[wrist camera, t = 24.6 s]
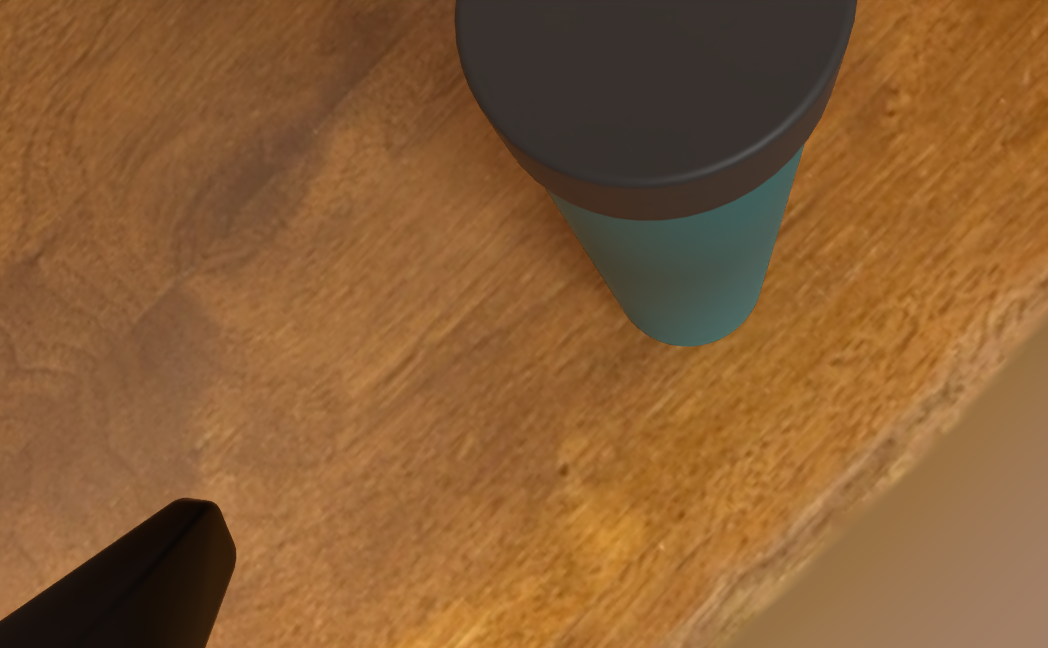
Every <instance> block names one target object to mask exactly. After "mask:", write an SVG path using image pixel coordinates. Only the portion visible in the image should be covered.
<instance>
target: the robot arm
mask: <svg viewBox="0 0 1048 648" xmlns="http://www.w3.org/2000/svg"><path fill="white" fill-rule="evenodd" d="M235 563H236V548H235V544H234V542H233V540H232V537H231V535H230V532H229V530H228V527H227V525H226V522H225V520H224V518H223V515H222V513H221V510H220V508H219V507H218V506H217V505H216V504H215V503H214V502H212V501H207V500H200V499H193V498H181V499H178V500H175V501H173V502H172V503H170V504H169V505H167V506H166V507H164V508H163V509H161V510H160V511H159V512H157V513H156V514H154V515H153V516H151V517H150V518H148V519H147V520H146V521H144V522H143V523H141V524H140V525H138V526H137V527H135V528H134V529H133V530H131V531H130V532H128V533H127V534H125V535H124V536H122V537H121V538H120V539H118V540H117V541H115V542H114V543H112V544H111V545H109V546H108V547H107V548H105V549H104V550H102V551H101V552H99V553H98V554H96V555H95V556H94V557H92V558H91V559H89V560H88V561H86V562H85V563H83V564H82V565H81V566H79V567H78V568H76V569H75V570H73V571H72V572H70V573H69V574H68V575H66V576H65V577H63V578H62V579H60V580H59V581H57V582H56V583H55V584H53V585H52V586H50V587H49V588H47V589H46V590H44V591H43V592H41V593H40V594H39V595H37V596H36V597H34V598H33V599H31V600H30V601H28V602H27V603H26V604H24V605H23V606H21V607H20V608H18V609H17V610H15V611H14V612H13V613H11V614H10V615H8V616H7V617H5V618H4V619H2V620H1V621H0V648H205V647H206V645H207V642H208V639H209V636H210V634H211V631H212V628H213V626H214V623H215V620H216V617H217V615H218V612H219V609H220V607H221V604H222V601H223V598H224V596H225V593H226V590H227V587H228V585H229V582H230V579H231V577H232V574H233V571H234V568H235Z"/></svg>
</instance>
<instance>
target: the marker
mask: <svg viewBox="0 0 1048 648" xmlns="http://www.w3.org/2000/svg"><path fill="white" fill-rule="evenodd" d="M856 5H857V0H456V6H455V31H456V43H457V48H458V53H459V57H460V62H461V66H462V69H463V72H464V75H465V77H466V80H467V83H468V85H469V88H470V90H471V92H472V94H473V95H474V97H475V99H476V101H477V103H478V105H479V106H480V108H481V110H482V111H483V113H484V114H485V116H486V117H487V119H488V120H489V122H490V123H491V125H492V126H493V128H494V129H495V131H496V132H497V133H498V135H499V136H500V138H501V139H502V141H503V142H504V144H505V145H506V147H507V148H508V149H509V151H510V152H511V153H512V155H513V156H514V158H515V159H516V160H517V162H518V163H519V164H520V165H521V166H522V167H523V168H524V169H525V170H526V171H527V172H528V173H529V174H530V175H531V176H532V177H533V178H534V179H535V180H536V181H537V182H538V183H540V184H541V185H542V186H544V187H545V189H546V190H547V192H548V193H549V195H550V196H551V198H552V199H553V201H554V203H555V204H556V206H557V207H558V209H559V210H560V212H561V214H562V215H563V217H564V218H565V220H566V221H567V223H568V224H569V226H570V228H571V229H572V231H573V232H574V234H575V235H576V237H577V239H578V240H579V242H580V243H581V245H582V246H583V248H584V249H585V251H586V253H587V254H588V256H589V257H590V259H591V260H592V262H593V264H594V265H595V267H596V268H597V270H598V271H599V273H600V274H601V276H602V278H603V279H604V281H605V282H606V284H607V285H608V287H609V289H610V290H611V292H612V293H613V295H614V296H615V298H616V299H617V301H618V303H619V304H620V306H621V307H622V309H623V310H624V312H625V314H626V315H627V316H628V318H629V319H630V320H631V321H632V322H633V323H634V324H635V325H636V327H637V328H639V329H640V330H641V331H643V332H644V333H645V334H647V335H648V336H650V337H652V338H654V339H656V340H658V341H661V342H663V343H667V344H671V345H677V346H699V345H704V344H708V343H712V342H714V341H717V340H719V339H721V338H723V337H725V336H727V335H729V334H730V333H731V332H733V331H734V330H736V329H737V328H738V327H739V326H740V325H741V324H742V323H743V322H744V321H745V320H746V318H747V317H748V316H749V315H750V313H751V312H752V310H753V308H754V307H755V305H756V302H757V300H758V298H759V295H760V291H761V288H762V285H763V281H764V278H765V275H766V271H767V268H768V264H769V261H770V258H771V254H772V251H773V248H774V244H775V241H776V238H777V234H778V231H779V228H780V224H781V221H782V218H783V214H784V211H785V208H786V204H787V201H788V198H789V194H790V191H791V188H792V184H793V181H794V177H795V174H796V171H797V167H798V164H799V161H800V157H801V154H802V151H803V147H804V144H805V142H806V141H807V139H808V138H809V136H810V135H811V133H812V132H813V130H814V128H815V127H816V125H817V123H818V122H819V120H820V119H821V117H822V114H823V112H824V110H825V107H826V105H827V103H828V101H829V98H830V96H831V93H832V90H833V87H834V84H835V81H836V78H837V75H838V72H839V69H840V66H841V63H842V60H843V57H844V54H845V51H846V48H847V45H848V41H849V38H850V34H851V31H852V27H853V24H854V19H855V12H856Z"/></svg>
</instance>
